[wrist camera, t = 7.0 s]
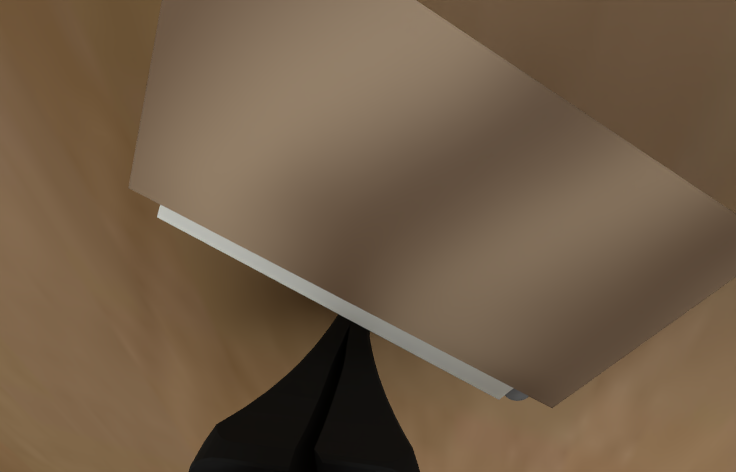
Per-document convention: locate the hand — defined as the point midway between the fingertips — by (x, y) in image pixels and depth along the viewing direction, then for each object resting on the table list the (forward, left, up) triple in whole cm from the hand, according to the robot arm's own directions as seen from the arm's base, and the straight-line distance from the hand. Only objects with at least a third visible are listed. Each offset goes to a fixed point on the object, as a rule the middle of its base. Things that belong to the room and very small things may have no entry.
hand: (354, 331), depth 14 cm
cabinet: (+1, -7, -3) cm, 8 cm away
